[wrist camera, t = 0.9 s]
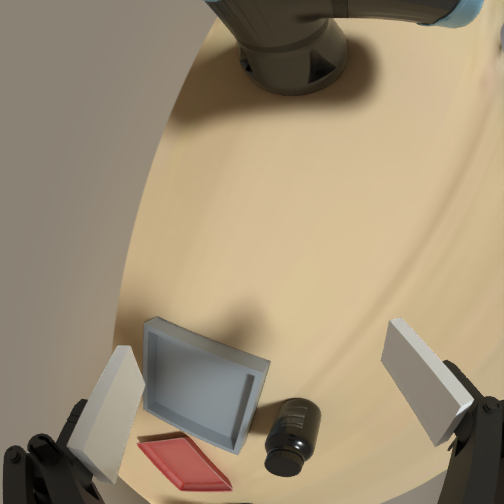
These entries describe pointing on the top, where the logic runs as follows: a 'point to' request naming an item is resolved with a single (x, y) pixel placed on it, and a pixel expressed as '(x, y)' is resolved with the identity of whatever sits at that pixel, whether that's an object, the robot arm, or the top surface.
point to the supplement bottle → (292, 437)
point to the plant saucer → (185, 465)
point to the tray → (200, 384)
